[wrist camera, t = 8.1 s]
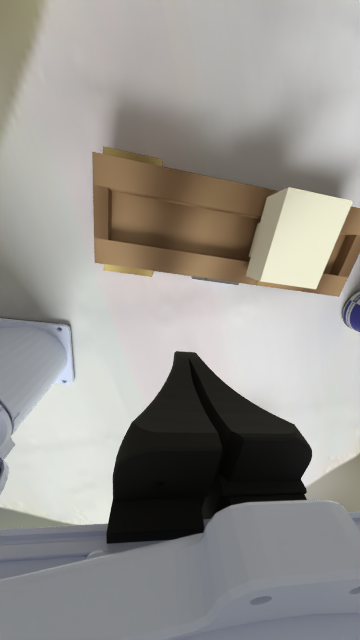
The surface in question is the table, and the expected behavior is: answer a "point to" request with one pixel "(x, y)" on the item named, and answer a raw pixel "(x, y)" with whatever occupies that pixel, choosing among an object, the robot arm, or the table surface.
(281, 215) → the plate
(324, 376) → the table surface
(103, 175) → the beam
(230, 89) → the table surface
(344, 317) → the energy drink
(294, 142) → the table surface
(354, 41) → the table surface
